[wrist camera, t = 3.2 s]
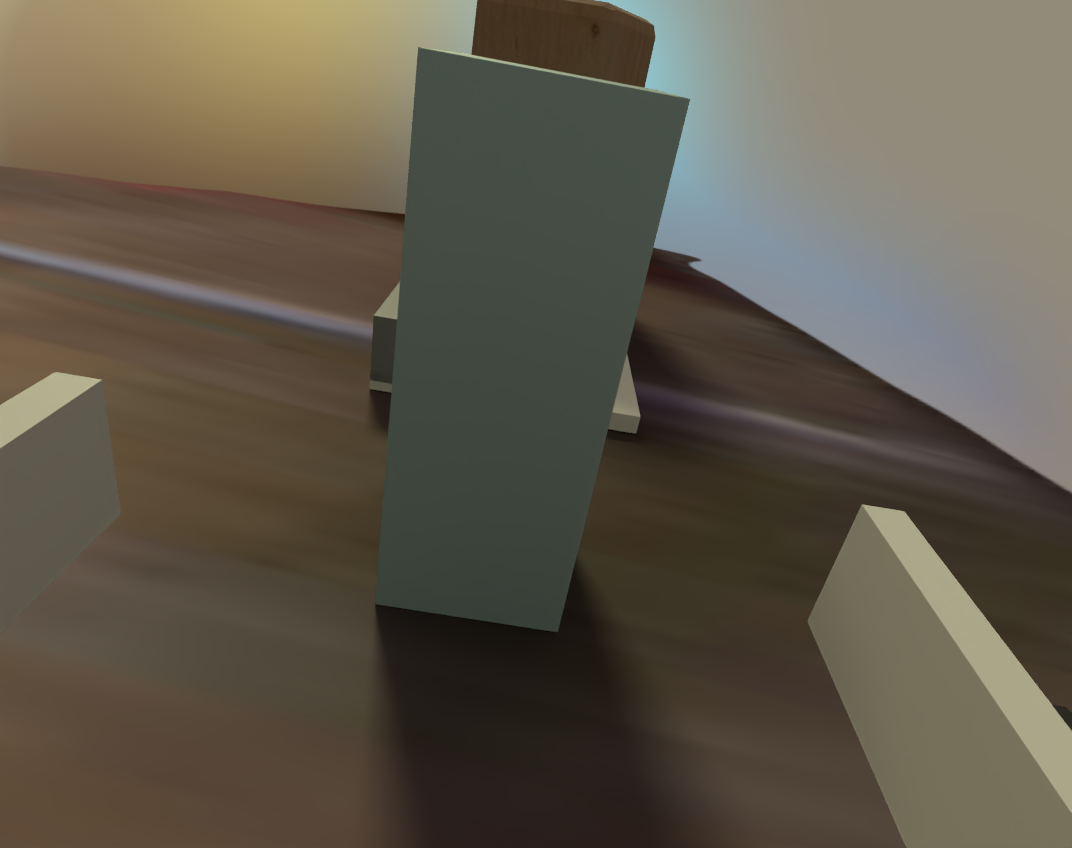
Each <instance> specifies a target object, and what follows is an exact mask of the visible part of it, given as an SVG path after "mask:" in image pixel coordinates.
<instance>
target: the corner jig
mask: <svg viewBox="0 0 1072 848" xmlns="http://www.w3.org/2000/svg"><path fill="white" fill-rule="evenodd" d="M399 289H400V282H399V283H398V285H397V286H396V287H395V289H394V290H393V291H392V293H391V294H390V295H389V296H388V298H387V299H386V300H385V302H384V303H383V304H382V306H381V307H380V308H379V309H378V311H377V312H376V313H375V315H374V322H373V339H372V355H371V371H370V388H369V389H373V390H379V391H385V392H392V379H393V366H394V353H395V340H396V328H397V315H398V302H399ZM639 421H640V412H639V407H638V403H637V398H636V393H635V389H634V384H633V379H632V375H631V370H630V365H629V360H628V356H627V355H626V359H625V363H624V367H623V371H622V375H621V379H620V383H619V387H618V391H617V395H616V399H615V403H614V407H613V411H612V416H611V420H610V424H609V428H608V429H611V430H617V431H623V432H629V433H635V434H636V432H637V428H638V425H639Z"/></svg>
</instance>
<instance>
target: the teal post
mask: <svg viewBox="0 0 1072 848" xmlns="http://www.w3.org/2000/svg"><path fill="white" fill-rule="evenodd" d="M689 101H690V99H688V98H684V97H680V96H677V95H673V94H669V93H666V92H662V91H658V90H653V89H648V88H643V87H638V86H632V85H627V84H622V83H617V82H611V81H606V80H601V79H596V78H590V77H585V76H580V75H575V74H569V73H564V72H559V71H554V70H548V69H543V68H538V67H533V66H528V65H522V64H517V63H512V62H507V61H501V60H496V59H491V58H486V57H480V56H475V55H470V54H464V53H459V52H453V51H444V50H436V49H428V48H420V47H419V48H418V57H417V71H416V83H415V97H414V110H413V122H412V134H411V147H410V161H409V173H408V187H407V199H406V212H405V225H404V237H403V250H402V263H401V276H400V289H399V302H398V315H397V328H396V340H395V353H394V366H393V379H392V392H391V405H390V418H389V431H388V444H387V456H386V469H385V482H384V495H383V508H382V521H381V534H380V547H379V559H378V572H377V585H376V598H375V604H378V605H384V606H390V607H397V608H403V609H410V610H416V611H423V612H429V613H436V614H442V615H449V616H455V617H462V618H468V619H475V620H481V621H488V622H494V623H500V624H507V625H513V626H520V627H526V628H533V629H539V630H546V631H552V632H558V629H559V625H560V621H561V617H562V613H563V609H564V605H565V601H566V597H567V593H568V589H569V585H570V581H571V577H572V573H573V569H574V565H575V561H576V557H577V553H578V548H579V544H580V540H581V536H582V532H583V528H584V524H585V520H586V516H587V512H588V508H589V504H590V500H591V496H592V492H593V488H594V484H595V480H596V476H597V472H598V468H599V464H600V460H601V456H602V452H603V448H604V444H605V440H606V436H607V432H608V428H609V424H610V420H611V416H612V411H613V407H614V403H615V399H616V395H617V391H618V387H619V383H620V379H621V375H622V371H623V367H624V363H625V359H626V355H627V351H628V347H629V343H630V339H631V335H632V331H633V327H634V323H635V319H636V315H637V311H638V307H639V303H640V299H641V295H642V291H643V287H644V283H645V278H646V274H647V270H648V266H649V262H650V258H651V254H652V250H653V246H654V242H655V238H656V234H657V230H658V226H659V222H660V218H661V214H662V210H663V206H664V202H665V198H666V194H667V189H668V186H669V182H670V178H671V174H672V170H673V166H674V162H675V157H676V153H677V150H678V145H679V141H680V137H681V133H682V129H683V125H684V121H685V117H686V113H687V109H688V105H689Z"/></svg>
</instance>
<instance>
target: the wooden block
mask: <svg viewBox="0 0 1072 848" xmlns="http://www.w3.org/2000/svg"><path fill="white" fill-rule="evenodd" d="M654 41H655V32H654V26H653V25H652V24H651V23H649V22H648V21H647V20H645V19H643V18H641V17H639V16H637V15H634V14H632V13H629V12H628V11H625V10H623V9H621V8H619V7H617V6H614V5H612V4H610V3H607V2H601V1H595V0H478V1H477V9H476V18H475V27H474V37H473V46H472V55H475V56H480V57H486V58H491V59H496V60H501V61H507V62H512V63H517V64H522V65H528V66H533V67H538V68H543V69H548V70H554V71H559V72H564V73H569V74H575V75H580V76H585V77H590V78H596V79H601V80H606V81H611V82H617V83H622V84H627V85H632V86H638V87H643V88H644V87H645V82H646V78H647V73H648V68H649V64H650V59H651V55H652V50H653V45H654Z"/></svg>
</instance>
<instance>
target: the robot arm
mask: <svg viewBox="0 0 1072 848" xmlns="http://www.w3.org/2000/svg"><path fill="white" fill-rule="evenodd" d="M120 514H121V512H120V505H119V497H118V490H117V483H116V476H115V469H114V462H113V455H112V448H111V440H110V433H109V426H108V419H107V412H106V405H105V398H104V391H103V383H102V380H100V379H94V378H88V377H82V376H76V375H70V374H64V373H58V372H55V373H53V374H51V375H50V376H48V377H46V378H45V379H43V380H41V381H40V382H38V383H36V384H35V385H33V386H31V387H30V388H28V389H26V390H25V391H23V392H21V393H20V394H18V395H16V396H15V397H13V398H11V399H9V400H8V401H6V402H4V403H3V404H1V405H0V635H1V634H2V633H3V632H4V631H5V630H6V629H7V628H8V627H9V626H10V625H11V624H12V623H13V622H14V621H15V620H16V619H17V618H18V617H19V616H20V615H21V614H22V613H23V612H24V611H25V610H26V609H27V608H28V607H29V606H30V605H31V604H32V603H33V602H34V601H35V600H36V599H37V598H38V597H39V596H40V595H41V594H42V593H43V592H44V591H45V590H46V589H47V588H48V587H49V586H50V585H51V584H52V583H53V582H54V581H55V580H56V579H57V578H58V577H59V576H60V575H61V574H62V573H63V572H64V571H65V570H66V569H67V568H68V567H69V566H70V565H71V564H72V563H73V562H74V561H75V560H76V559H77V558H78V557H79V556H80V555H81V554H82V553H83V552H84V551H85V550H86V549H87V548H88V547H89V546H90V545H91V544H92V543H93V542H94V541H95V539H96V538H97V537H98V536H99V535H100V534H101V533H102V532H103V531H104V530H105V529H106V528H107V527H108V526H109V525H110V524H111V523H112V522H113V521H114V520H115V519H116V518H117V517H118V516H119V515H120ZM807 622H808V624H809V626H810V628H811V631H812V633H813V635H814V638H815V640H816V642H817V644H818V647H819V649H820V651H821V654H822V656H823V658H824V660H825V663H826V665H827V667H828V670H829V672H830V674H831V677H832V679H833V681H834V683H835V686H836V688H837V690H838V693H839V695H840V697H841V699H842V702H843V704H844V706H845V709H846V711H847V713H848V715H849V718H850V720H851V722H852V725H853V727H854V729H855V731H856V734H857V736H858V738H859V741H860V743H861V745H862V747H863V750H864V752H865V754H866V757H867V759H868V761H869V763H870V766H871V768H872V770H873V773H874V775H875V777H876V779H877V782H878V784H879V786H880V789H881V791H882V793H883V796H884V798H885V800H886V802H887V805H888V807H889V809H890V812H891V814H892V816H893V818H894V821H895V823H896V825H897V828H898V830H899V832H900V834H901V837H902V839H903V841H904V844H905V846H906V848H1072V713H1071V712H1070V711H1069V710H1068V709H1067V708H1066V707H1062V706H1055V705H1052V704H1051V703H1050V702H1049V701H1048V699H1047V698H1046V697H1045V695H1044V694H1043V693H1042V691H1041V690H1040V689H1039V687H1038V686H1037V685H1036V684H1035V682H1034V681H1033V680H1032V678H1031V677H1030V676H1029V674H1028V673H1027V672H1026V670H1025V669H1024V668H1023V667H1022V665H1021V664H1020V663H1019V661H1018V660H1017V659H1016V657H1015V656H1014V655H1013V653H1012V652H1011V651H1010V649H1009V648H1008V647H1007V646H1006V644H1005V643H1004V642H1003V640H1002V639H1001V638H1000V636H999V635H998V634H997V632H996V631H995V630H994V629H993V627H992V626H991V625H990V623H989V622H988V621H987V619H986V618H985V617H984V615H983V614H982V613H981V611H980V610H979V609H978V608H977V606H976V605H975V604H974V602H973V601H972V600H971V598H970V597H969V596H968V594H967V593H966V592H965V591H964V589H963V588H962V587H961V585H960V584H959V583H958V581H957V580H956V579H955V577H954V576H953V575H952V573H951V572H950V571H949V570H948V568H947V567H946V566H945V564H944V563H943V562H942V560H941V559H940V558H939V556H938V555H937V554H936V553H935V551H934V550H933V549H932V547H931V546H930V545H929V543H928V542H927V541H926V539H925V538H924V537H923V535H922V534H921V533H920V532H919V530H918V529H917V528H916V526H915V525H914V524H913V522H912V521H911V520H910V518H909V517H908V516H907V515H906V513H905V512H904V511H898V510H892V509H886V508H880V507H874V506H868V505H862V506H861V508H860V510H859V512H858V514H857V516H856V518H855V521H854V523H853V525H852V527H851V529H850V531H849V533H848V536H847V538H846V540H845V542H844V544H843V546H842V548H841V550H840V553H839V555H838V557H837V559H836V561H835V563H834V565H833V568H832V570H831V572H830V574H829V576H828V578H827V580H826V583H825V585H824V587H823V589H822V591H821V593H820V595H819V597H818V600H817V602H816V604H815V606H814V608H813V610H812V612H811V615H810V617H809V619H808V621H807Z"/></svg>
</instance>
